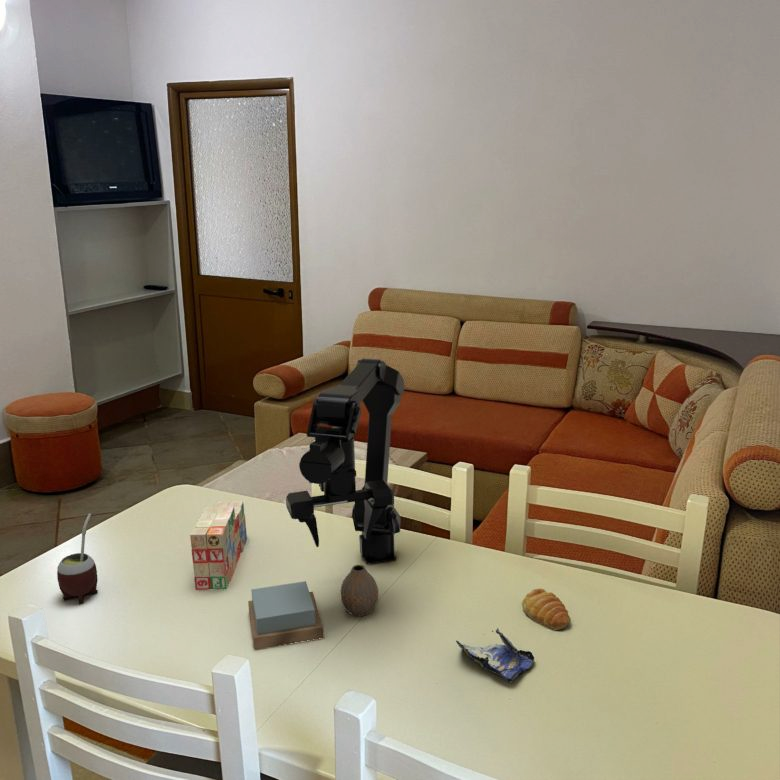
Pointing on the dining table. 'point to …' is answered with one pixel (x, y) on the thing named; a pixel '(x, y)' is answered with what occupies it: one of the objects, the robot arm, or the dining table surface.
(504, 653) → the snack package
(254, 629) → the tower base
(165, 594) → the dining table surface
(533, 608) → the pastry
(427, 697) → the dining table surface
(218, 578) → the stack of blocks
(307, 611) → the tower top
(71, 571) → the mate gourd
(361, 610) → the vase
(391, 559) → the robot arm
